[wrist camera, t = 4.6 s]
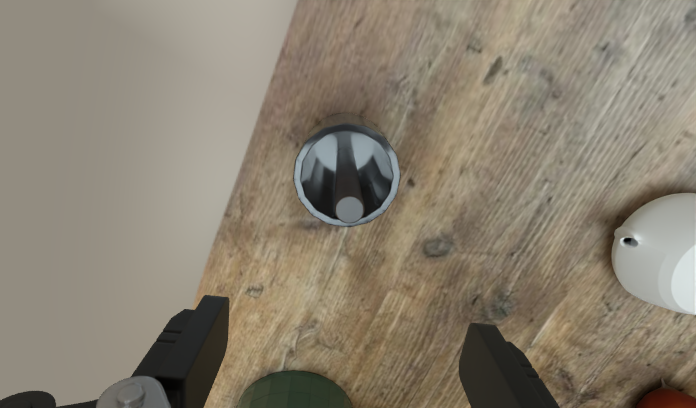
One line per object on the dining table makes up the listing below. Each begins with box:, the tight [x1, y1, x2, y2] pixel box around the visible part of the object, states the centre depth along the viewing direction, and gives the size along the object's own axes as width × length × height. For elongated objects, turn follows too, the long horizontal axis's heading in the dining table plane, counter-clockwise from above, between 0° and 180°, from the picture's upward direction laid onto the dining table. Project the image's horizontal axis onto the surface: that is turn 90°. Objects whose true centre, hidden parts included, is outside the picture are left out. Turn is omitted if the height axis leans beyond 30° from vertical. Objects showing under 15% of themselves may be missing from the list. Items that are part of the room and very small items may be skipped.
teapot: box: [611, 193, 696, 315], centre depth 38 cm, size 20×12×10 cm, turn 71°
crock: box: [293, 113, 401, 227], centre depth 35 cm, size 8×8×9 cm
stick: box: [335, 148, 365, 224], centre depth 31 cm, size 2×2×16 cm
